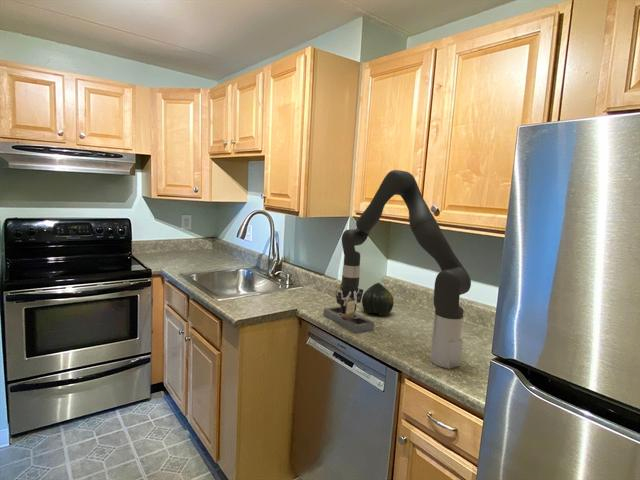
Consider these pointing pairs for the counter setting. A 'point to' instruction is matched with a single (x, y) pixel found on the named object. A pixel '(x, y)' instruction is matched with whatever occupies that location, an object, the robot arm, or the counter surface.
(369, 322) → the gray slotted tray
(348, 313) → the square peg
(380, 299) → the squash
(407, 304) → the counter surface
